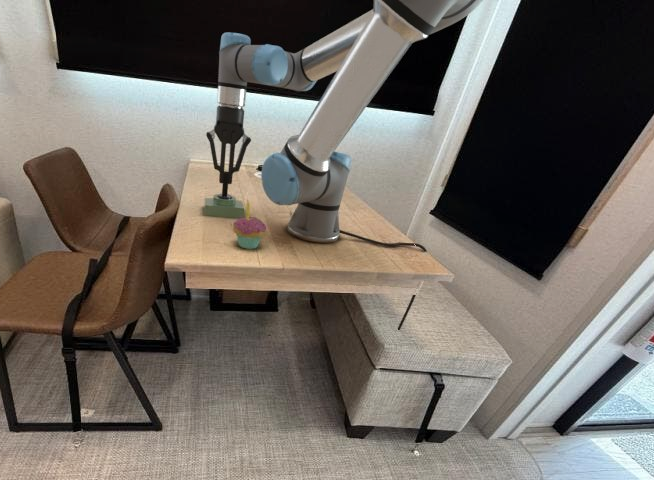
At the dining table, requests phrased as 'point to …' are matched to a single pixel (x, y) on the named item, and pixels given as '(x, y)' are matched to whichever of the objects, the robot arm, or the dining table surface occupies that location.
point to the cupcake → (249, 230)
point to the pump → (224, 196)
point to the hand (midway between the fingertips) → (224, 194)
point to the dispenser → (224, 207)
